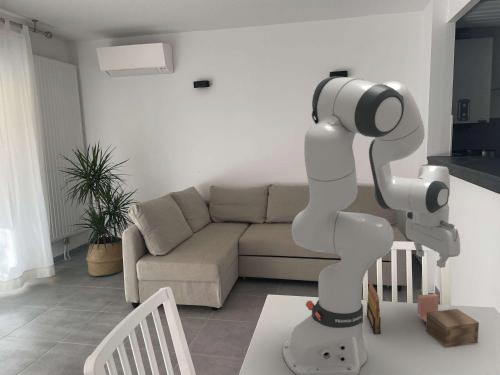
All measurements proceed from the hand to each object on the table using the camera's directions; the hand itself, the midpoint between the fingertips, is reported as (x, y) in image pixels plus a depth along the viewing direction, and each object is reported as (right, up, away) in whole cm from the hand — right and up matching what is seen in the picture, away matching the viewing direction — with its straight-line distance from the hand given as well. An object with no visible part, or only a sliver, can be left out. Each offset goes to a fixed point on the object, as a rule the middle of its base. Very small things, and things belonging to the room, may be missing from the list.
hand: (430, 261), depth 107 cm
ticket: (+1, -18, -3) cm, 19 cm away
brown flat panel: (-17, -20, 0) cm, 26 cm away
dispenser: (+2, -20, -7) cm, 22 cm away
